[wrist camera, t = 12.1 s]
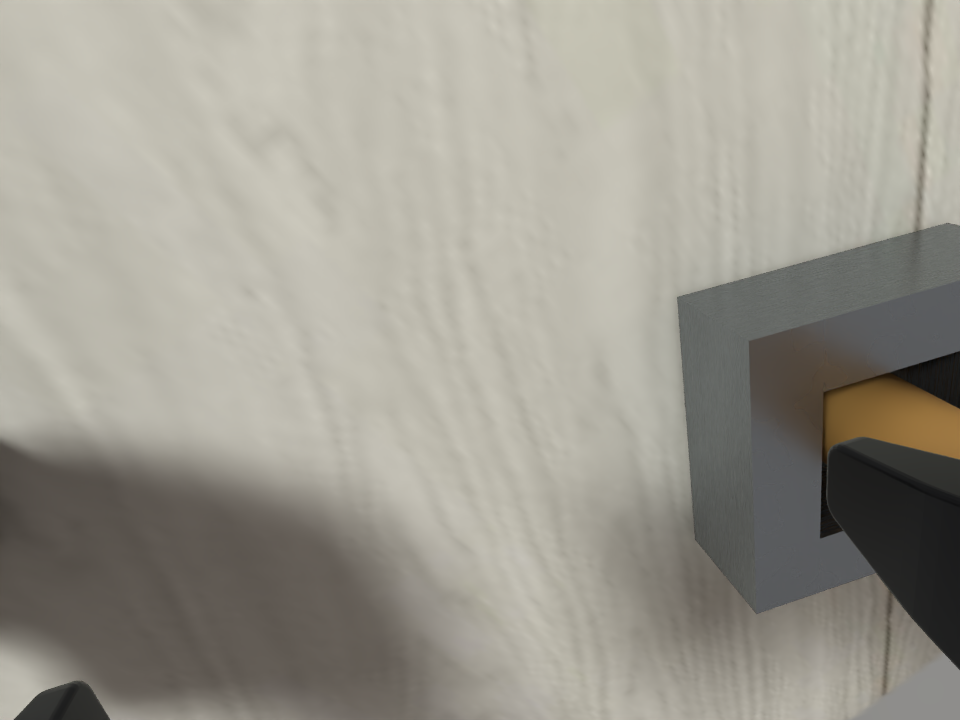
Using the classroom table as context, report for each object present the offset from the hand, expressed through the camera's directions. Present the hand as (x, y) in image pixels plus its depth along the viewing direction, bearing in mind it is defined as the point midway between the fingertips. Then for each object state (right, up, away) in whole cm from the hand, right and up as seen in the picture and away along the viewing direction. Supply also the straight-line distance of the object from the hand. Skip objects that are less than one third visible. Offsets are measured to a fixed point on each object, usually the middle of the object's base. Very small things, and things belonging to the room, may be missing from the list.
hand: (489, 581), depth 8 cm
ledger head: (+16, +3, +17) cm, 24 cm away
